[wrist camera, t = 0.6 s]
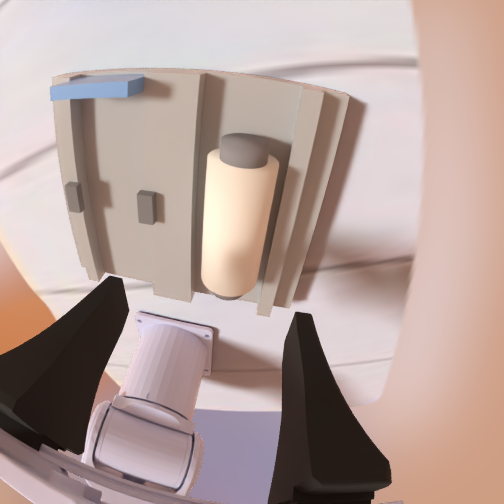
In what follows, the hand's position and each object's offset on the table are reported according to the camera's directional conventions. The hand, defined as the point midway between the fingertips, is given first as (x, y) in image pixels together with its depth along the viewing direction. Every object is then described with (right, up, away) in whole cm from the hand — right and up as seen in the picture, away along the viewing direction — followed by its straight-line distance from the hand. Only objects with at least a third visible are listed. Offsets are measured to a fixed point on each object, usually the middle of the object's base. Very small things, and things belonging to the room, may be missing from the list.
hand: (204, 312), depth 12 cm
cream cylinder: (+1, +5, +7) cm, 8 cm away
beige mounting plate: (-3, +7, +8) cm, 11 cm away
